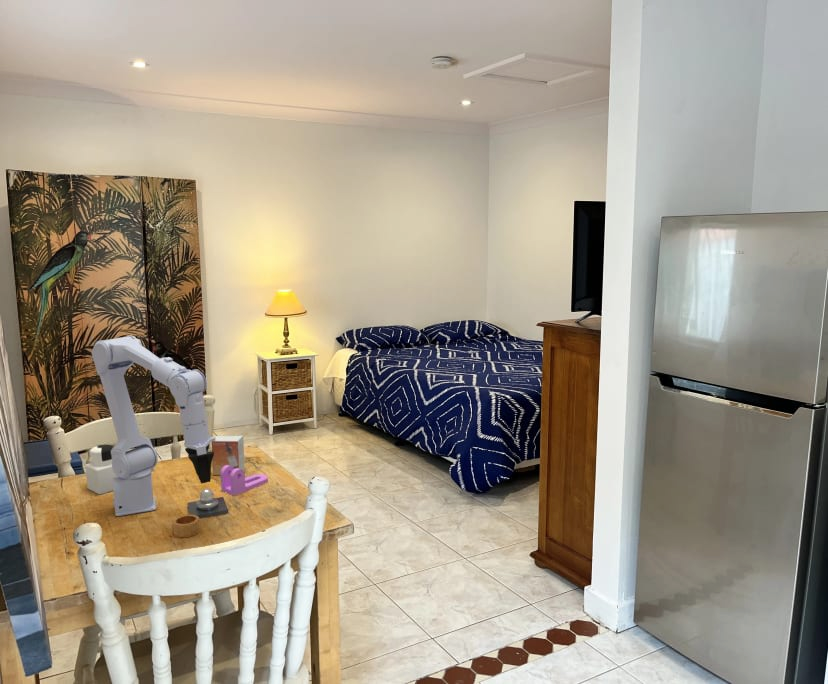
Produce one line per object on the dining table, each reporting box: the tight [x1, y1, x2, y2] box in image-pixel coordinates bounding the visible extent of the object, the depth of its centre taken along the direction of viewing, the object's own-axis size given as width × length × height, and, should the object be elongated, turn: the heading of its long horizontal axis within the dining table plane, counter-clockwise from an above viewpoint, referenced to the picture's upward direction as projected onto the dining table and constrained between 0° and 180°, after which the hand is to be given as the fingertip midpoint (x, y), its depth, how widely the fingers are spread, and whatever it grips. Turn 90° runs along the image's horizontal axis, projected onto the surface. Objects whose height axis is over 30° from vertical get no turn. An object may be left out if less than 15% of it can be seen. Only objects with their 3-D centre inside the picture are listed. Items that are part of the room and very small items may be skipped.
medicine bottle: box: [84, 444, 118, 495], centre depth 185 cm, size 7×7×12 cm
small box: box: [211, 435, 246, 476], centre depth 197 cm, size 8×6×10 cm
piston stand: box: [186, 488, 229, 519], centre depth 171 cm, size 9×9×6 cm
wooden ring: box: [172, 514, 201, 539], centre depth 159 cm, size 6×6×3 cm
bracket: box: [219, 465, 269, 496], centre depth 186 cm, size 13×6×7 cm, turn 143°
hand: (203, 478), depth 159 cm, fingers open, 7 cm apart
